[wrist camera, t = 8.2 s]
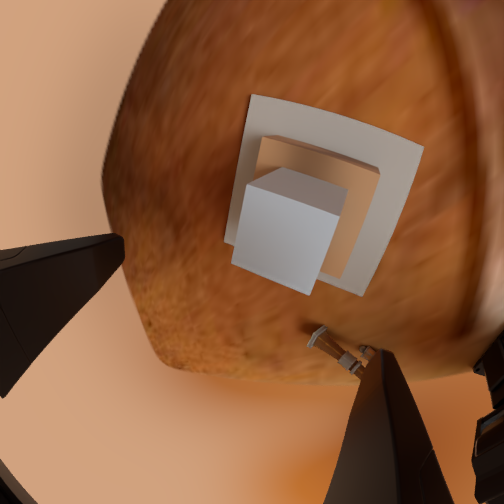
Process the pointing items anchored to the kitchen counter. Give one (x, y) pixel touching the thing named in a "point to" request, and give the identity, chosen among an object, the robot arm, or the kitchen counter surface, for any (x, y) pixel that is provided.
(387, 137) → the build mat
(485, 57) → the kitchen counter surface
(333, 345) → the wooden post with brackets
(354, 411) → the robot arm
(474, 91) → the kitchen counter surface
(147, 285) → the kitchen counter surface
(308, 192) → the grey block
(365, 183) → the plinth
